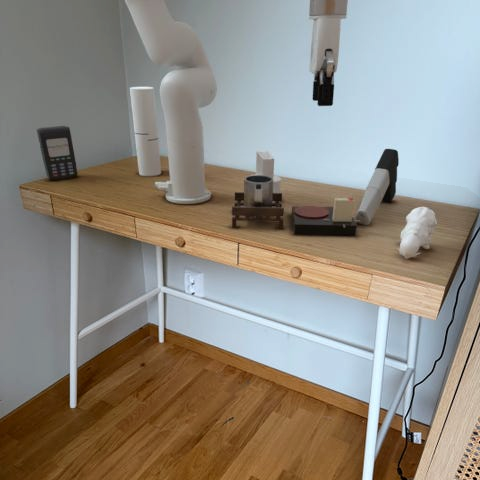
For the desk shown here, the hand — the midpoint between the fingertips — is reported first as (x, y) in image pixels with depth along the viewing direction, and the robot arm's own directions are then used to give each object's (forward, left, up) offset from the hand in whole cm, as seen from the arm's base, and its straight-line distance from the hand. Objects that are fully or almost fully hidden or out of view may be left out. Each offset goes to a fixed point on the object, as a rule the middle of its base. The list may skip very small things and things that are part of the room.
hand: (322, 102), depth 103 cm
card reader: (-75, +30, -26) cm, 85 cm away
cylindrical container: (-49, +38, -26) cm, 68 cm away
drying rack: (-14, -3, -26) cm, 30 cm away
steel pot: (-14, -3, -23) cm, 27 cm away
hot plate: (-1, -4, -24) cm, 24 cm away
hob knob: (+6, -10, -24) cm, 26 cm away
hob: (+2, -6, -26) cm, 27 cm away
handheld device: (+17, +4, -26) cm, 32 cm away
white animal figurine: (+19, -21, -26) cm, 39 cm away
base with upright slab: (-12, +12, -26) cm, 31 cm away
